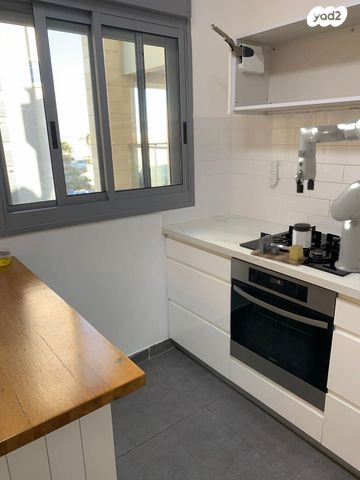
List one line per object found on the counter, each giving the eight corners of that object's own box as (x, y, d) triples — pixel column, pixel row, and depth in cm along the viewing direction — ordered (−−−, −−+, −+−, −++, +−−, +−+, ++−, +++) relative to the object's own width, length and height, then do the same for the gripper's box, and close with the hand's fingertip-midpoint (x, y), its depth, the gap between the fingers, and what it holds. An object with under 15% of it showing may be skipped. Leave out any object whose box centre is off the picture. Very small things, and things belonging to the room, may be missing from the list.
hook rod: (302, 258, 164) (303, 245, 163) (297, 260, 161) (297, 248, 160) (273, 251, 176) (273, 239, 174) (267, 253, 173) (267, 242, 171)
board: (307, 260, 166) (307, 257, 165) (296, 266, 159) (296, 263, 159) (262, 249, 184) (262, 247, 183) (250, 254, 177) (250, 252, 177)
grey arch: (272, 252, 178) (272, 235, 176) (263, 256, 173) (263, 239, 171) (268, 251, 180) (268, 234, 177) (258, 255, 175) (259, 238, 172)
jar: (302, 251, 178) (303, 228, 174) (289, 247, 185) (290, 225, 181) (313, 247, 183) (314, 224, 179) (300, 243, 189) (301, 222, 186)
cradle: (278, 256, 173) (279, 247, 172) (275, 257, 171) (275, 249, 170) (275, 255, 174) (275, 246, 173) (271, 256, 172) (271, 248, 171)
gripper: (304, 156, 155) (303, 194, 160) (323, 152, 166) (321, 189, 171) (289, 155, 160) (288, 193, 165) (308, 152, 171) (307, 188, 176)
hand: (305, 191), depth 168 cm, fingers open, 9 cm apart
